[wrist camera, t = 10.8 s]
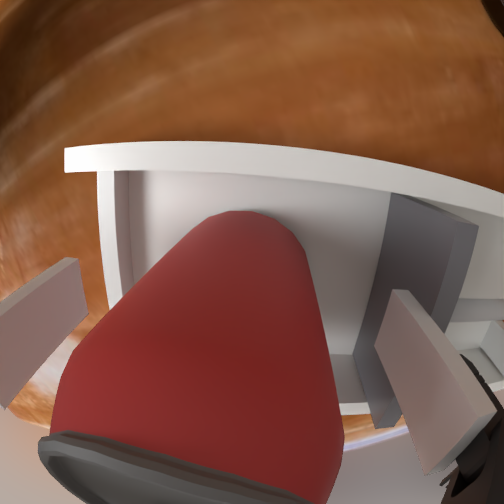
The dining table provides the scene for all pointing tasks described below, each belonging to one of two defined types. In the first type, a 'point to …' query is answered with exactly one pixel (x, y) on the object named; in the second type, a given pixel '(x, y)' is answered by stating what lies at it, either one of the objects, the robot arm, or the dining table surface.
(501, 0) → the supplement bottle
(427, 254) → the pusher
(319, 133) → the dining table surface
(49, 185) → the dining table surface
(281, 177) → the white open tray
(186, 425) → the beer can
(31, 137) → the dining table surface
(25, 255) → the dining table surface
